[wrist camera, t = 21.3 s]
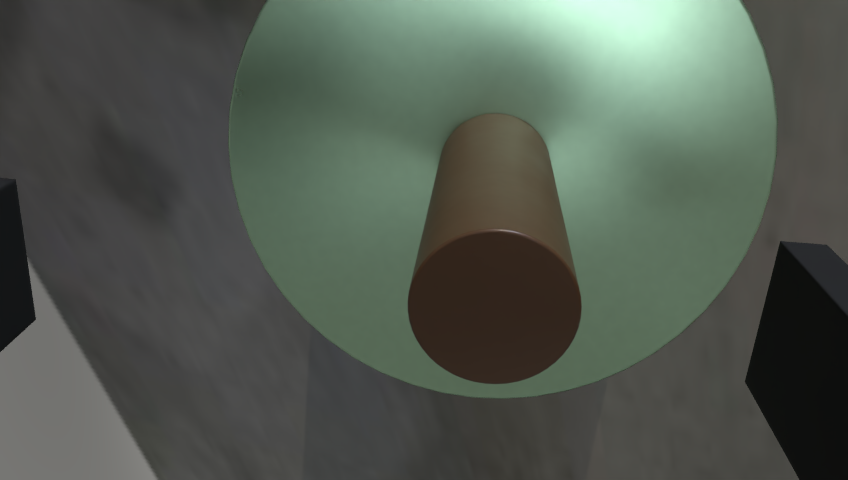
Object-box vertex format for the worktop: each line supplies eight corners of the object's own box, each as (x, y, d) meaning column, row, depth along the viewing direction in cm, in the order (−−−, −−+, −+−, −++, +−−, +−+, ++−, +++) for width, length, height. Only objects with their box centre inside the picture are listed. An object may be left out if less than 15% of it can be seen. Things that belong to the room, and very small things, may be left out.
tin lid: (155, 210, 23) (-47, 385, 14) (424, -261, 18) (358, -423, 9) (545, 454, 25) (571, 734, 16) (883, 89, 20) (1171, 217, 11)
